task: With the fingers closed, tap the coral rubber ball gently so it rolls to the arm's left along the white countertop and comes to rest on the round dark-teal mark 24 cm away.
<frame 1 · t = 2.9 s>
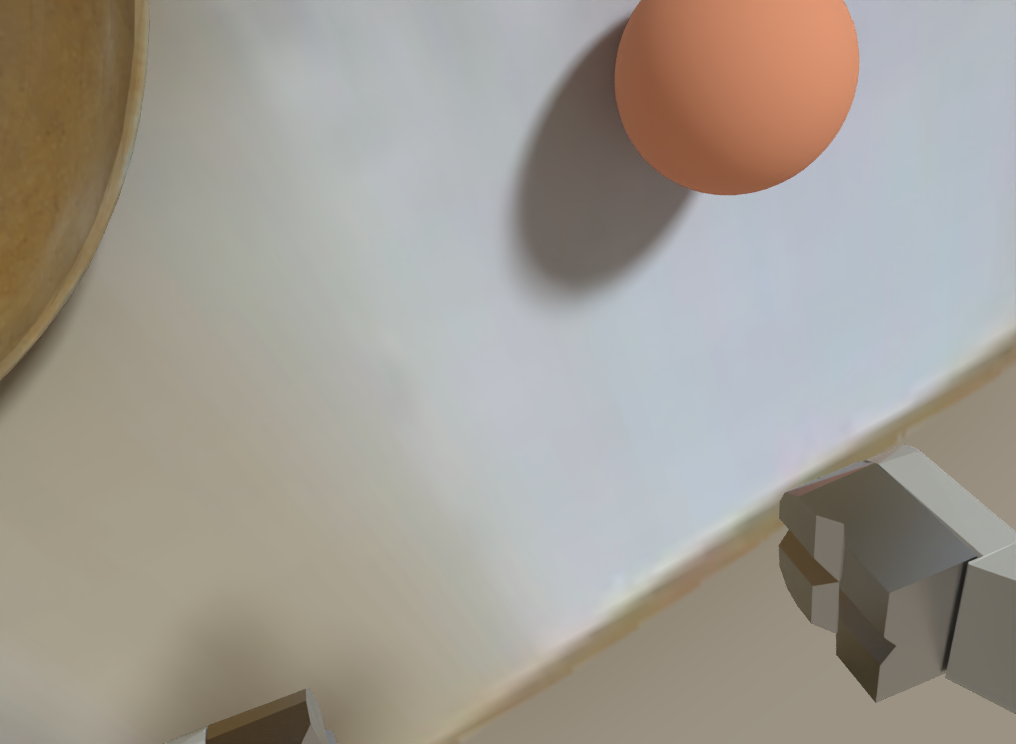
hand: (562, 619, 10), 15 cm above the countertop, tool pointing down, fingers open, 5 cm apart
ball: (732, 75, 21), on the countertop
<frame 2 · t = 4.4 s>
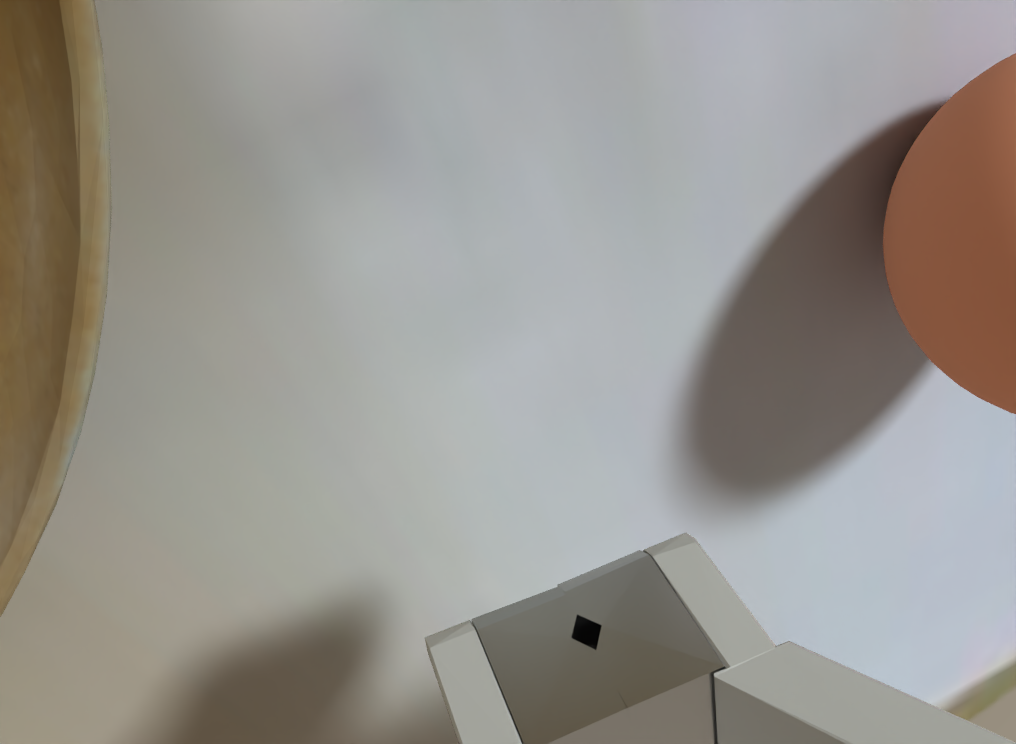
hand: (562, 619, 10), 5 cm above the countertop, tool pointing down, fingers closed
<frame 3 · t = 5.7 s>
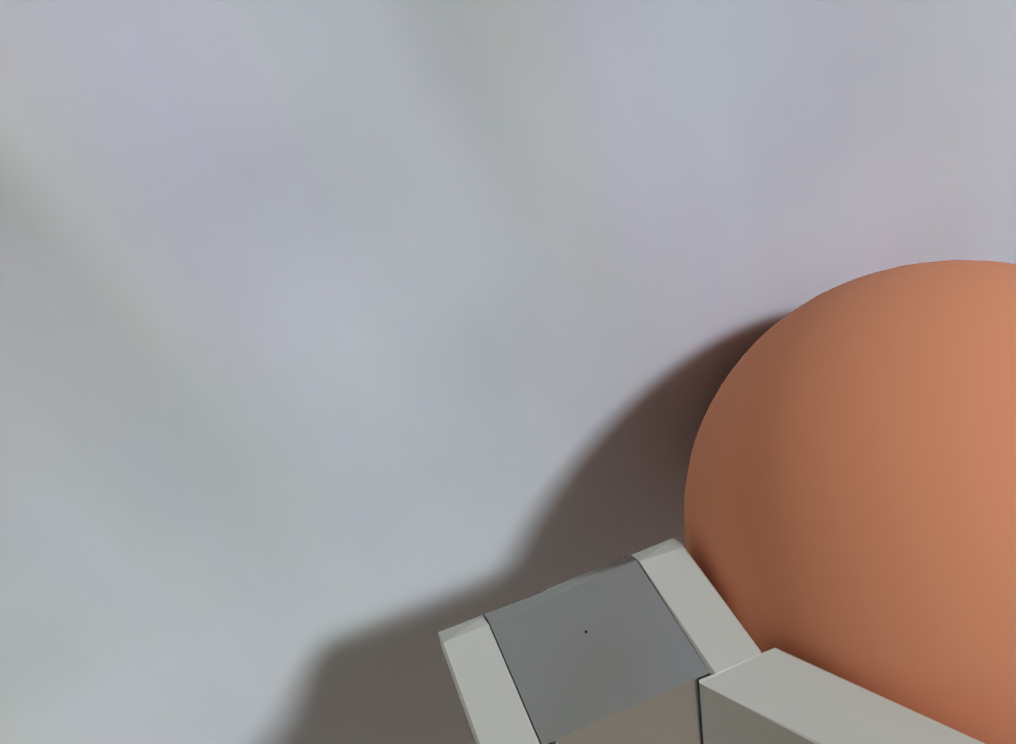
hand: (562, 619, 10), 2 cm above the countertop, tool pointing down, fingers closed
ball: (948, 521, 10), on the countertop, touching gripper
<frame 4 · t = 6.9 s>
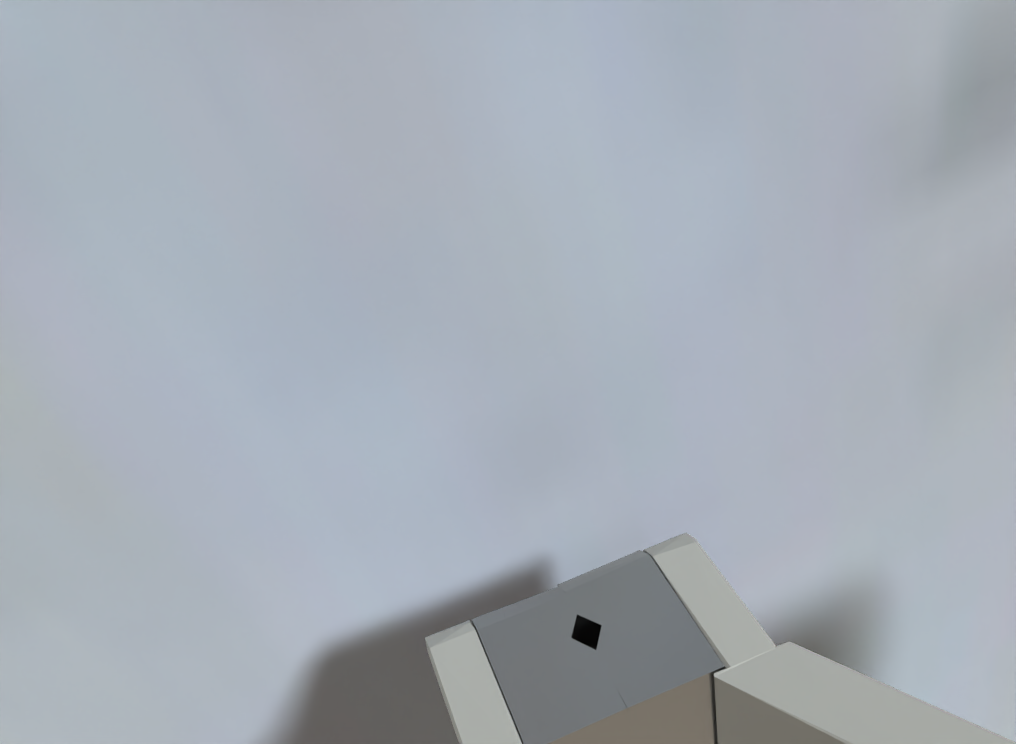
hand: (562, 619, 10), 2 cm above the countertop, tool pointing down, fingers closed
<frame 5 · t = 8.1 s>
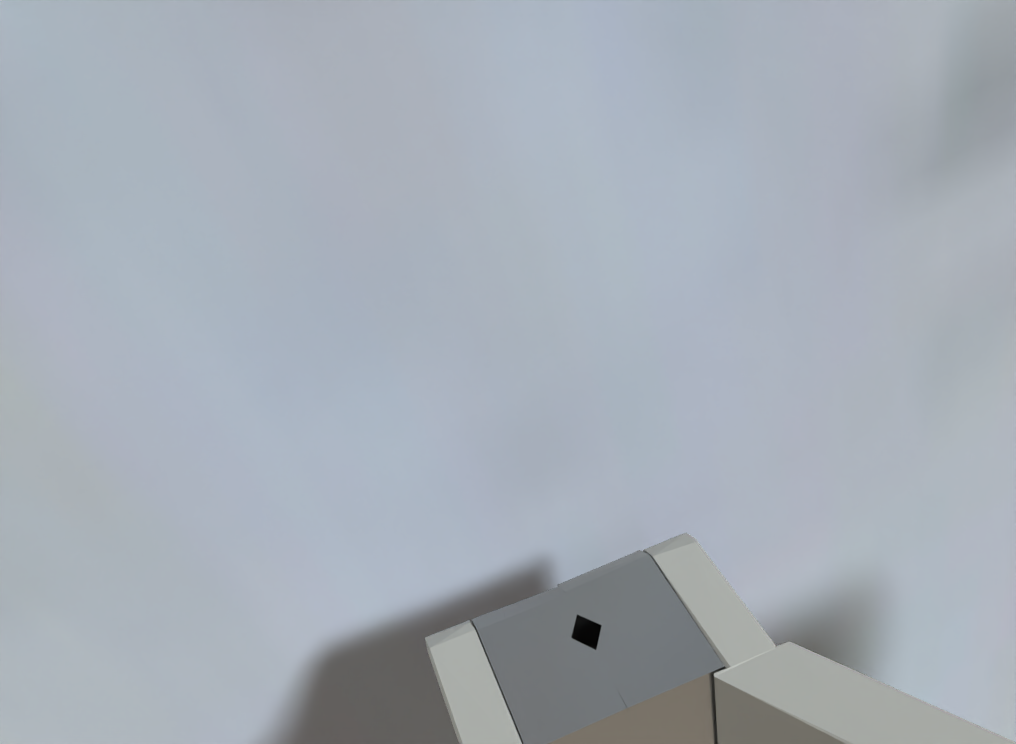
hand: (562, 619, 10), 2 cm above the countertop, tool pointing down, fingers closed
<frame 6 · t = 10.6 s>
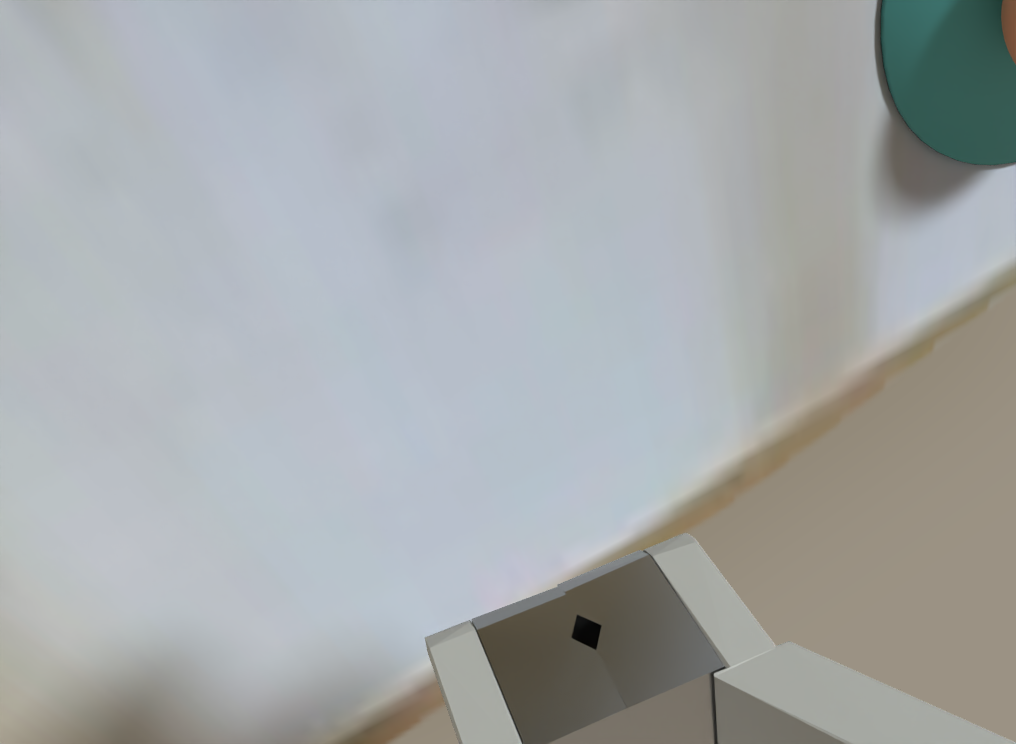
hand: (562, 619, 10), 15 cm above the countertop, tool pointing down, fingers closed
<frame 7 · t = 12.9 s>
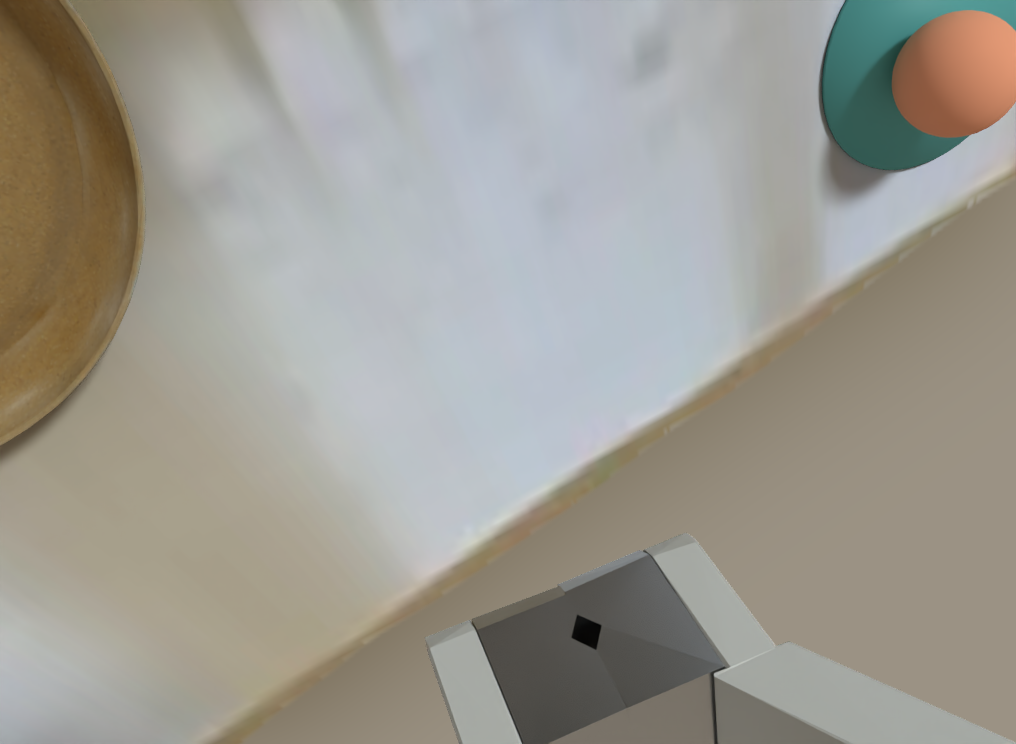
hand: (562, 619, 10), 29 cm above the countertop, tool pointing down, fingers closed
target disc: (931, 47, 43), on the countertop
ball: (957, 75, 41), resting on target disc
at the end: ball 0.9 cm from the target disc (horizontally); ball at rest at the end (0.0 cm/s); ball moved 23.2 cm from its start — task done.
